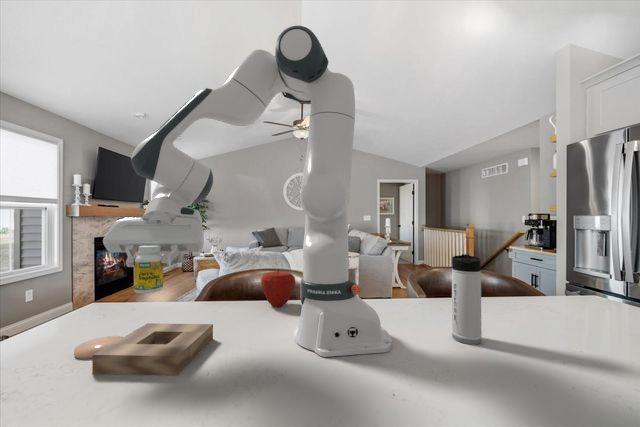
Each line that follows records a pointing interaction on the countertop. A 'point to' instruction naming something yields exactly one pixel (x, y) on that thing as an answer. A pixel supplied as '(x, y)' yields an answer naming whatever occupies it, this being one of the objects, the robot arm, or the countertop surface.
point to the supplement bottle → (148, 270)
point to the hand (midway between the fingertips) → (148, 265)
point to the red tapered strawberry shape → (278, 287)
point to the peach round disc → (94, 346)
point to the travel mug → (466, 299)
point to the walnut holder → (153, 350)
